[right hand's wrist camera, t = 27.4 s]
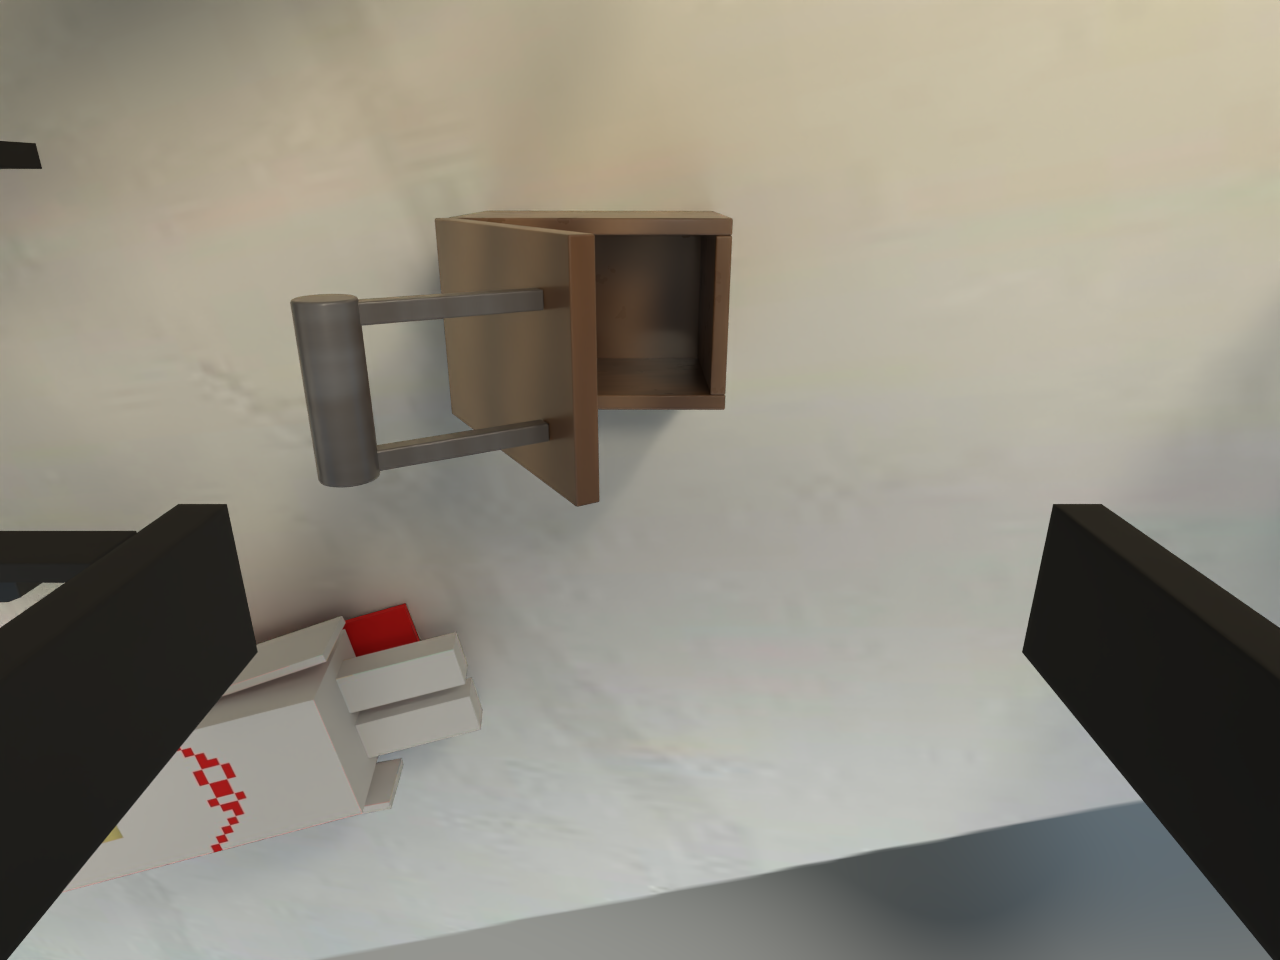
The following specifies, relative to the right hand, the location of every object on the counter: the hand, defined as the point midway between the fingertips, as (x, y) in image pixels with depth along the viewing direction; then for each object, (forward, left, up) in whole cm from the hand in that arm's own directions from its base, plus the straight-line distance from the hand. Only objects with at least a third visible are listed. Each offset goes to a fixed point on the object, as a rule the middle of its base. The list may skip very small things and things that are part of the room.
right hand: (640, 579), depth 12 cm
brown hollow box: (+2, -2, -36) cm, 36 cm away
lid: (+3, -4, -20) cm, 21 cm away
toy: (+38, -3, -36) cm, 52 cm away
